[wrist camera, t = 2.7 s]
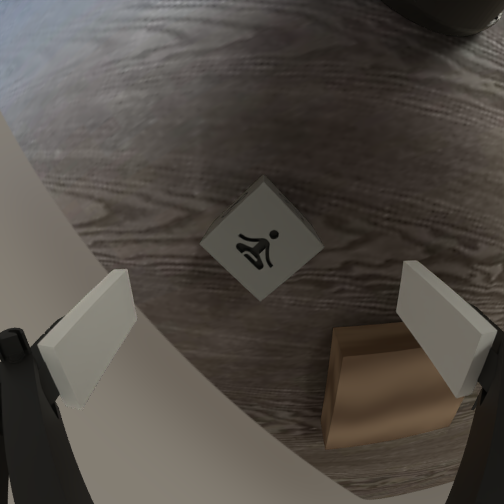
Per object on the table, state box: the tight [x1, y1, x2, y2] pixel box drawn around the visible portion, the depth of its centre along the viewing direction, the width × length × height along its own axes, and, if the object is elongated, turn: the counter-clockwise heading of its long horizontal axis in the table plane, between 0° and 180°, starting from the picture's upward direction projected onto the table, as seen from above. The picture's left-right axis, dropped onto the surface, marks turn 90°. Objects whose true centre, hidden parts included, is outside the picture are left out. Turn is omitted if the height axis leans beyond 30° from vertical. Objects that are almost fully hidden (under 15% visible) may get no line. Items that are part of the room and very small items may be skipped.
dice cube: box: [199, 174, 324, 302], centre depth 20 cm, size 5×5×5 cm
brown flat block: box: [321, 322, 464, 450], centre depth 24 cm, size 12×14×4 cm
